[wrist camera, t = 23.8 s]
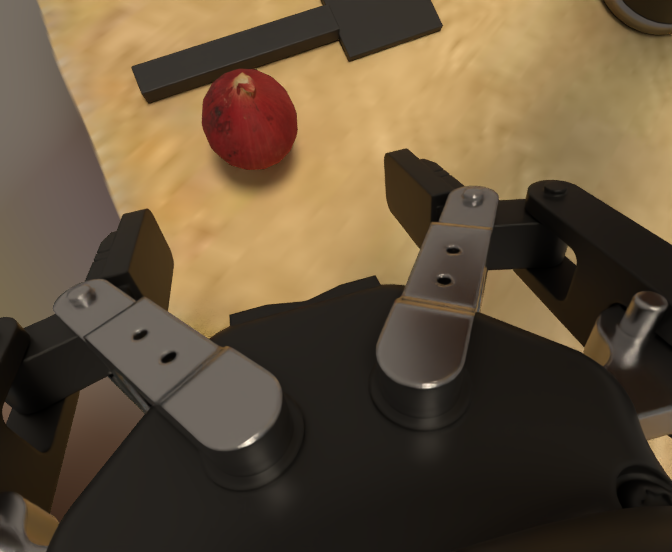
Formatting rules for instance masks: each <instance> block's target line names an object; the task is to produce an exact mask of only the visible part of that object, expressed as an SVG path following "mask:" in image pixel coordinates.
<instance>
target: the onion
mask: <svg viewBox="0 0 672 552" xmlns="http://www.w3.org/2000/svg"><path fill="white" fill-rule="evenodd" d="M202 126H203V130H204V133H205V135H206V137H207V140H208V142H209V144H210V146H211V148H212V149H213V150H214V152H215V153H217V154H218V155H219V156H220V157H221V158H222V159H224V160H225V161H226V162H227V163H228V164H229V165H232V166H236V167H239V168H243V169H246V170H255V169H265V168H268V167H270V166H272V165H275V164H277V163H279V162H280V161H281V160H282V159H283V158H284V157H285V156H286V155H287V154H288V153H289V152H290V150H291V148H292V145H293V143H294V141H295V138H296V135H297V130H298V129H297V113H296V110H295V108H294V105H293V103H292V101H291V99H290V97H289V95H288V93H287V91H286V90H285V89H284V88H283V87H282V86H281V85H280V84H279V83H278V82H277V81H276V80H275V79H274V78H272V77H271V76H269V75H266V74H264V73H262V72H260V71H257V70H255V69H236V70H233V71H230V72H227V73H224V74H223V75H222V76H220V77H219V78H218V79H217V80H216V81H214V82H213V83H212V85H211V87H210V89H209V90H208V92H207V94H206V96H205V97H204V99H203V109H202Z"/></svg>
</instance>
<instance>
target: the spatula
mask: <svg viewBox="0 0 672 552" xmlns="http://www.w3.org/2000/svg"><path fill="white" fill-rule="evenodd" d="M321 1H322V3H323V6H320V7H317V8H314V9H310V10H307V11H304V12H301V13H298V14H295V15H292V16H289V17H285V18H282V19H279V20H276V21H273V22H270V23H267V24H263V25H260V26H257V27H254V28H251V29H248V30H245V31H241V32H238V33H235V34H232V35H229V36H226V37H223V38H220V39H216V40H213V41H210V42H207V43H204V44H201V45H198V46H194V47H191V48H188V49H185V50H182V51H179V52H176V53H172V54H169V55H166V56H163V57H160V58H157V59H154V60H150V61H147V62H144V63H141V64H138V65H135V66H132V67H131V68H132V71H133V73H134V76H135V78H136V81H137V83H138V86H139V88H140V91H141V93H142V95H143V96H144V98H145V99H146V101H147V102H148V103H150V102H153V101H156V100H159V99H162V98H165V97H168V96H171V95H174V94H178V93H181V92H184V91H187V90H190V89H193V88H196V87H199V86H202V85H205V84H208V83H211V82H214V81H216V80H217V79H218V78H219V77H220V76H222V75H223V74H224V73H227V72H230V71H233V70H236V69H253V68H256V67H259V66H262V65H265V64H268V63H271V62H274V61H277V60H280V59H283V58H286V57H289V56H292V55H295V54H298V53H301V52H304V51H307V50H310V49H313V48H316V47H319V46H322V45H325V44H328V43H331V42H334V41H337V40H339V41H340V43H341V45H342V47H343V49H344V52H345V54H346V56H347V58H348V60H349V61H352V60H354V59H357V58H360V57H363V56H366V55H369V54H372V53H375V52H378V51H381V50H384V49H387V48H390V47H393V46H395V45H398V44H401V43H404V42H407V41H410V40H413V39H416V38H419V37H422V36H425V35H428V34H431V33H433V32H436V31H439V30H441V28H442V26H443V25H442V23H441V21H440V19H439V17H438V14H437V12H436V10H435V8H434V6H433V4H432V2H431V0H321Z"/></svg>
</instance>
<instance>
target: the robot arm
mask: <svg viewBox="0 0 672 552" xmlns="http://www.w3.org/2000/svg"><path fill="white" fill-rule="evenodd" d="M604 1H605V3H606V4H607V6H608V7H609V9H610V10H611V11H612V12H613V14H614V15H615V16H616V17H617V18H619V19H620V20H621V21H622V22H624V23H625V24H626V25H628V26H630V27H631V28H634V29H636V30H638V31H641V32H644V33H648V34H655V35H664V34H671V33H672V0H604ZM384 169H385V187H386V199H387V204H388V207H389V209H390V211H391V213H392V214H393V215H394V216H395V218H396V219H397V220H398V222H399V223H400V224H401V225H402V227H403V228H404V229H405V231H406V232H407V233H408V234H409V236H410V237H411V238H412V240H413V241H414V242H415V243H416V245H417V246H418V247H419V249H420V251H419V254H418V256H417V259H416V261H415V264H414V266H413V269H412V271H411V274H410V276H409V279H408V281H407V284H406V286H404V285H395V284H384V285H381V284H380V283H379V281H378V279H377V277H376V276H371V277H367V278H364V279H360V280H356V281H353V282H349V283H345V284H342V285H339V286H337V287H335V288H333V289H331V290H329V291H326V292H324V293H322V294H320V295H318V296H316V297H314V298H312V299H310V300H307V301H302V302H292V303H281V304H270V305H264V306H260V307H257V308H253V309H249V310H246V311H242V312H238V313H235V314H231V315H230V326H229V327H227V328H225V329H223V330H222V331H220V332H218V333H217V334H215V335H214V336H212V337H211V338H209V339H208V338H206V337H205V336H203V335H202V334H200V333H199V332H197V331H196V330H194V329H193V328H191V327H190V326H188V325H187V324H185V323H184V322H182V321H181V320H179V319H178V318H176V317H175V316H174V315H172V314H171V313H169V312H168V307H169V299H170V291H171V284H172V276H173V268H174V261H173V257H172V253H171V250H170V248H169V246H168V244H167V242H166V240H165V238H164V236H163V234H162V232H161V230H160V228H159V226H158V224H157V222H156V220H155V218H154V216H153V214H152V212H151V211H150V210H149V209H143V210H139V211H134V212H130V213H126V214H123V216H122V218H121V221H120V224H119V226H118V229H117V231H115V232H111V233H110V235H108V236H107V237H106V238H105V239H104V240H103V241H102V242H101V244H100V246H99V249H98V251H97V254H96V256H95V259H94V262H93V263H92V266H91V268H90V271H89V273H88V275H87V278H86V280H85V282H82V283H79V284H77V285H75V286H73V287H71V288H70V289H68V290H67V291H65V292H64V293H63V294H62V295H60V296H59V297H58V299H57V300H56V301H55V303H54V305H53V311H54V312H55V314H54V315H52V316H50V317H48V318H46V319H44V320H41V321H39V322H37V323H34V324H32V325H30V326H28V327H25V328H22V327H21V325H20V324H19V323H18V322H17V321H16V320H15V319H13V318H10V317H3V318H0V552H672V480H671V479H670V478H669V476H668V475H667V474H666V472H665V471H664V469H663V468H662V466H661V465H660V463H659V462H658V460H657V458H656V457H655V455H654V453H653V451H652V450H651V448H650V446H649V444H648V442H647V440H651V439H654V438H658V437H662V436H665V435H668V436H669V437H671V438H672V245H671V244H669V243H668V242H666V241H665V240H663V239H661V238H660V237H658V236H657V235H655V234H653V233H652V232H650V231H649V230H647V229H645V228H644V227H642V226H641V225H639V224H637V223H636V222H634V221H633V220H631V219H629V218H628V217H626V216H625V215H623V214H621V213H620V212H618V211H617V210H615V209H613V208H612V207H610V206H609V205H607V204H605V203H604V202H602V201H601V200H599V199H597V198H596V197H594V196H593V195H591V194H590V193H588V192H586V191H585V190H583V189H582V188H580V187H578V186H577V185H575V184H572V183H569V182H565V181H560V180H543V181H538V182H535V183H533V184H531V185H530V186H529V187H528V190H527V195H526V199H516V200H499V196H498V194H497V193H496V192H495V191H494V190H492V189H489V188H486V187H482V186H464V185H463V184H461V183H460V182H459V181H458V180H456V179H455V178H454V177H453V176H451V175H449V173H448V172H446V171H445V170H443V168H442V167H440V166H439V165H438V164H437V163H435V162H432V161H429V160H426V159H419V158H418V157H416V156H415V155H414V154H413V153H412V152H411V151H409V150H408V149H402V150H398V151H393V152H389V153H386V154H385V157H384ZM568 246H569V247H570V248H572V250H573V251H574V253H575V255H576V259H577V266H576V265H575V264H574V263H573V262H572V261H570V260H569V259H568V258H567V257H566V256H565V253H566V250H567V247H568ZM503 269H513V270H514V272H515V273H516V274H517V275H518V276H519V277H520V278H521V279H522V281H523V282H524V283H525V284H526V285H527V286H528V287H529V288H530V289H531V290H532V291H533V292H534V294H535V295H536V296H537V297H538V298H539V299H540V300H541V301H542V302H543V303H544V304H545V305H546V307H547V308H548V309H549V310H550V311H551V312H552V313H553V314H554V315H555V316H556V317H557V318H558V320H559V321H560V322H561V323H562V324H563V325H564V326H565V327H566V328H567V329H568V330H569V331H570V333H571V334H572V335H573V336H574V337H575V338H576V339H577V340H578V341H579V342H580V343H581V344H582V346H583V347H584V351H583V353H581V352H579V351H577V350H574V349H572V348H570V347H567V346H564V345H562V344H559V343H557V342H554V341H552V340H549V339H546V338H544V337H541V336H539V335H536V334H534V333H531V332H528V331H526V330H523V329H521V328H518V327H516V326H513V325H511V324H508V323H505V322H503V321H500V320H498V319H495V318H493V317H490V316H487V315H485V314H482V313H480V311H481V306H482V301H483V295H484V290H485V284H486V279H487V273H488V270H503ZM107 376H108V377H109V378H110V379H111V381H112V382H113V383H114V384H115V385H116V386H117V387H118V388H119V389H120V390H121V391H122V392H123V393H124V394H125V395H126V396H127V397H128V398H129V399H130V400H131V401H133V402H134V404H135V405H136V406H137V407H138V408H139V409H140V410H141V411H142V412H143V413H144V414H145V415H144V416H143V417H142V419H141V420H140V421H139V422H138V423H137V425H136V426H135V427H134V428H133V430H132V431H131V432H130V433H129V435H128V436H127V437H126V438H125V440H124V441H123V442H122V443H121V445H120V446H119V447H118V448H117V450H116V451H115V452H114V453H113V455H112V456H111V457H110V458H109V460H108V461H107V462H106V463H105V465H104V466H103V467H102V468H101V469H100V471H99V472H98V473H97V475H96V476H95V477H94V478H93V480H92V481H91V482H90V483H89V484H88V486H87V487H86V488H85V489H84V491H83V492H82V493H81V494H80V496H79V497H78V498H77V499H76V501H75V502H74V503H73V504H72V506H71V507H70V509H69V510H68V511H67V513H66V514H65V515H64V517H63V519H62V520H61V522H60V523H58V521H57V519H56V518H55V517H53V516H52V515H51V514H50V511H51V507H52V503H53V499H54V495H55V491H56V487H57V483H58V479H59V475H60V471H61V467H62V463H63V459H64V454H65V450H66V446H67V442H68V438H69V434H70V430H71V426H72V422H73V418H74V414H75V410H76V405H77V402H78V398H79V391H80V390H82V389H84V388H85V387H87V386H89V385H91V384H93V383H95V382H97V381H99V380H101V379H103V378H105V377H107ZM4 402H6V403H7V404H8V405H10V406H11V407H12V410H11V413H10V415H9V418H8V420H7V423H6V424H5V422H4V420H3V416H2V408H3V404H4Z"/></svg>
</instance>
